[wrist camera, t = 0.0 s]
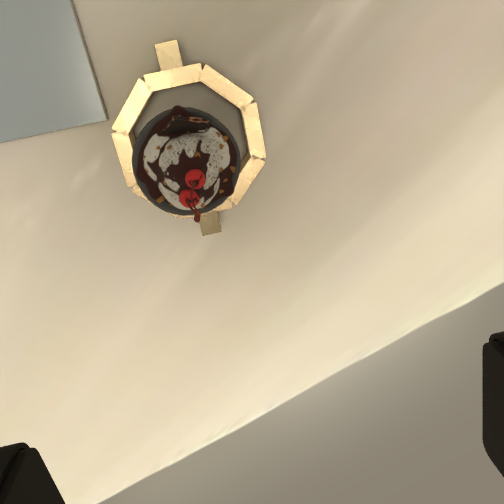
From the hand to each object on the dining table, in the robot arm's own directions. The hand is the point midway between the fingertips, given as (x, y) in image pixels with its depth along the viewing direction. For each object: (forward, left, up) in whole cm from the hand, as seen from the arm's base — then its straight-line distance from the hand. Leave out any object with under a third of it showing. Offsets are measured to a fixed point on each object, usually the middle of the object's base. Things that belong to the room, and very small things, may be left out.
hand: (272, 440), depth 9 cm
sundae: (-2, -2, -31) cm, 32 cm away
